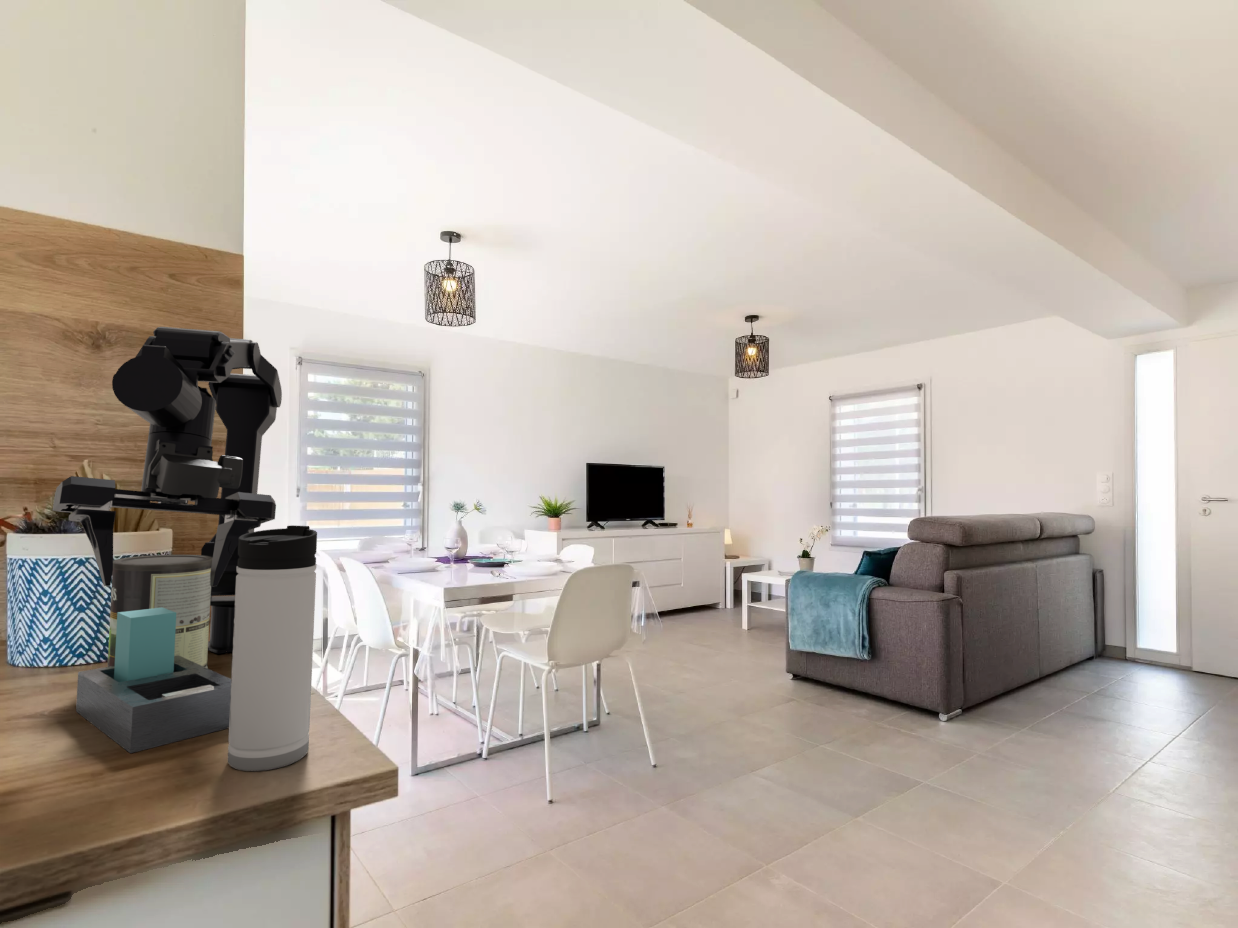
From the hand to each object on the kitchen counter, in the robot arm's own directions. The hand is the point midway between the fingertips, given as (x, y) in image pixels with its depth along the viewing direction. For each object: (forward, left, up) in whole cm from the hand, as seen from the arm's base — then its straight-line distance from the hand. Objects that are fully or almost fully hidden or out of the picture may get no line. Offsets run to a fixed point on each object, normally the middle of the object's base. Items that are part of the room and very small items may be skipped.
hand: (162, 586), depth 67 cm
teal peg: (-3, 0, -13) cm, 13 cm away
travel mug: (+19, +3, -13) cm, 23 cm away
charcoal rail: (+1, 0, -13) cm, 13 cm away
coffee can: (-15, +5, -13) cm, 21 cm away
